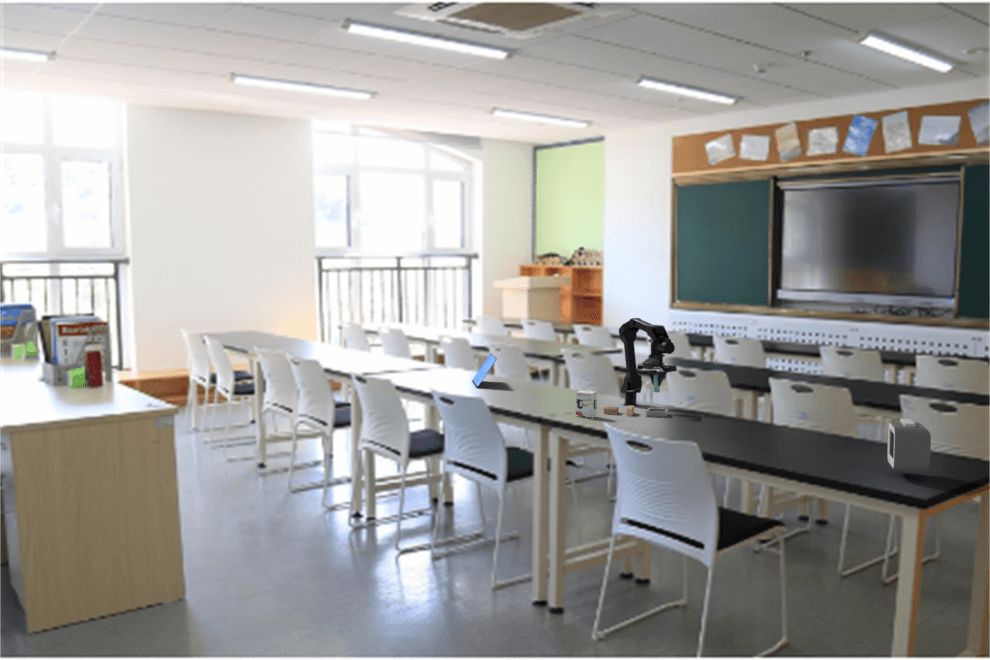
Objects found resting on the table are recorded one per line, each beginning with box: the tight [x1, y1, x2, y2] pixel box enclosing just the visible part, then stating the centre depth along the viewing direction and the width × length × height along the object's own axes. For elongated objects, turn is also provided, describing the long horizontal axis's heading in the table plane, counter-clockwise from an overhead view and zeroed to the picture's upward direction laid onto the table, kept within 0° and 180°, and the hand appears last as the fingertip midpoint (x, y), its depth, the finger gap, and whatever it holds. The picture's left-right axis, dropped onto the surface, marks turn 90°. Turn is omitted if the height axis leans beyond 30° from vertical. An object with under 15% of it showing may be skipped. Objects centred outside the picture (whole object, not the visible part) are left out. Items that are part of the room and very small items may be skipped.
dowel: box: [653, 374, 661, 393], centre depth 406 cm, size 3×3×8 cm
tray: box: [645, 407, 669, 419], centre depth 399 cm, size 9×9×2 cm
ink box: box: [575, 390, 598, 418], centre depth 394 cm, size 9×5×12 cm, turn 62°
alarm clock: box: [886, 418, 932, 472], centre depth 294 cm, size 16×11×16 cm
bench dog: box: [625, 406, 635, 417], centre depth 402 cm, size 8×2×4 cm, turn 164°
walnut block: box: [603, 406, 620, 416], centre depth 404 cm, size 6×6×3 cm
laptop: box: [471, 352, 497, 389], centre depth 493 cm, size 30×32×18 cm
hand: (656, 385), depth 406 cm, fingers closed on dowel, 3 cm apart
